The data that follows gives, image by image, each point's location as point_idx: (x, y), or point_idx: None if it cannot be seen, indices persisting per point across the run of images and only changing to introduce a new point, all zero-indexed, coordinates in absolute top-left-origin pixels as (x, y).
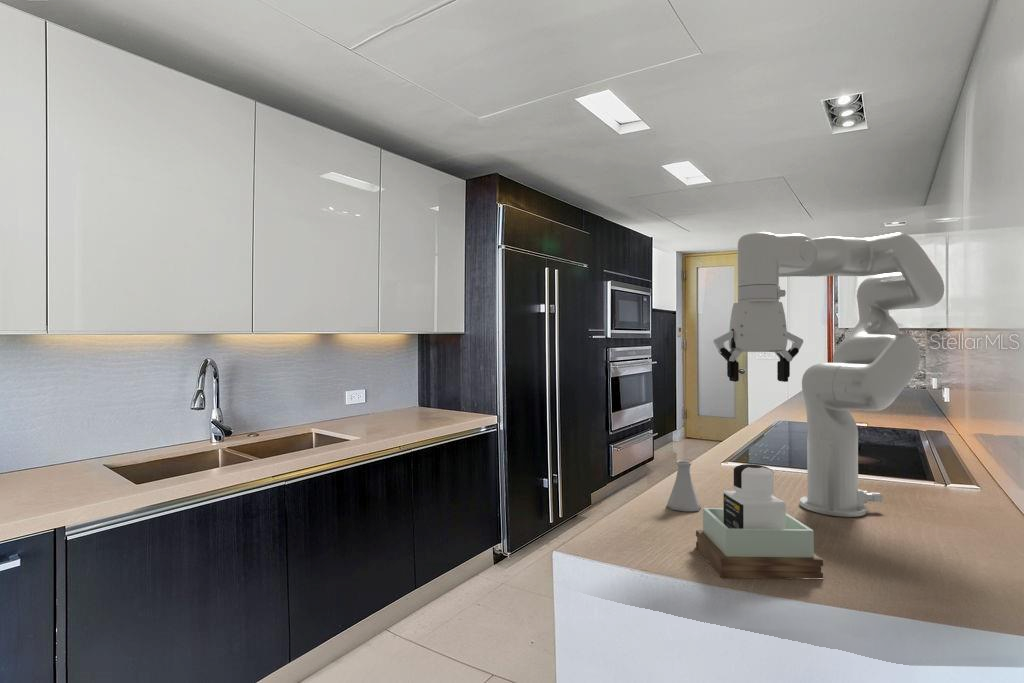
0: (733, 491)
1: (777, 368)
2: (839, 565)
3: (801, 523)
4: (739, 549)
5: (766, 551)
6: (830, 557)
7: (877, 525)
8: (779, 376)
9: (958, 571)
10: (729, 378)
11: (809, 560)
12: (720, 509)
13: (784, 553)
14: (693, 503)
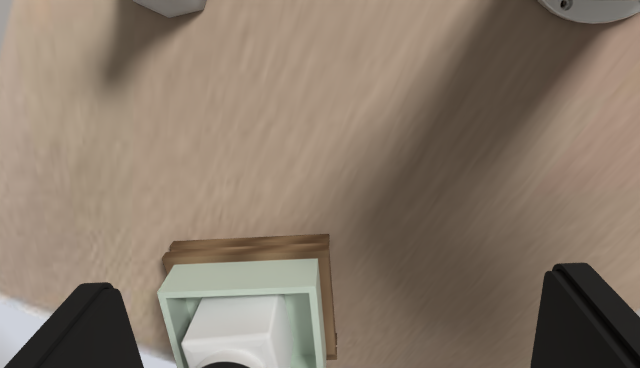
0: (198, 355)
1: (616, 357)
2: (388, 293)
3: (321, 359)
4: None
5: None
6: (392, 265)
7: (619, 78)
8: (558, 330)
9: None
10: (76, 294)
11: None
12: (191, 296)
13: None
14: (184, 5)
